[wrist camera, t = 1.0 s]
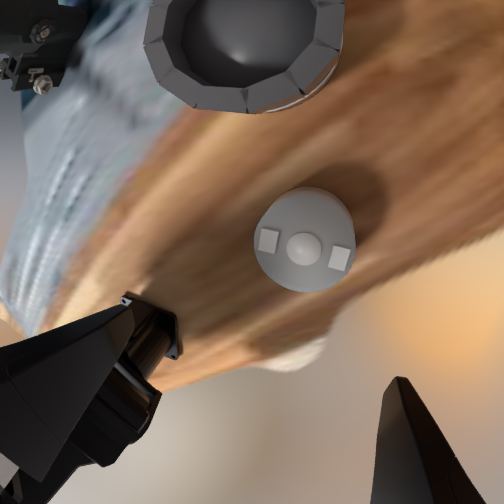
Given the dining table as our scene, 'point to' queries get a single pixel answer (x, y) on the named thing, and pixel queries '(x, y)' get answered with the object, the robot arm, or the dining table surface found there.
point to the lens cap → (306, 240)
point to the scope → (37, 41)
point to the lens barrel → (244, 51)
